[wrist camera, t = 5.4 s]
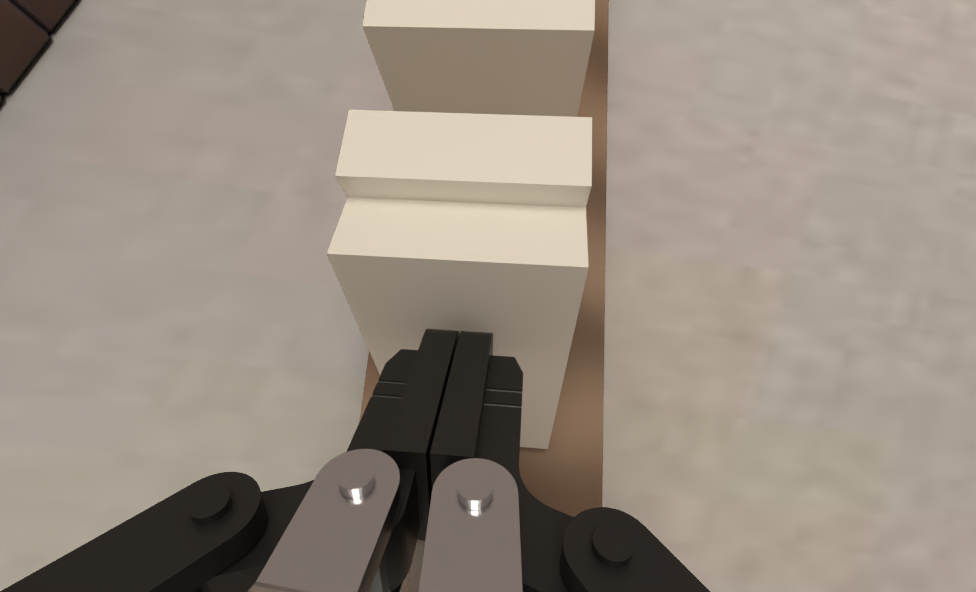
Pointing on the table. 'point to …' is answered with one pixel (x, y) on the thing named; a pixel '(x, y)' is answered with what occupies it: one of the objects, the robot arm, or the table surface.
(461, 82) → the domino
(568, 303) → the domino
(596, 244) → the walnut board
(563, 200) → the domino
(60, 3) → the miniature tower
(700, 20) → the table surface
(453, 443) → the robot arm
